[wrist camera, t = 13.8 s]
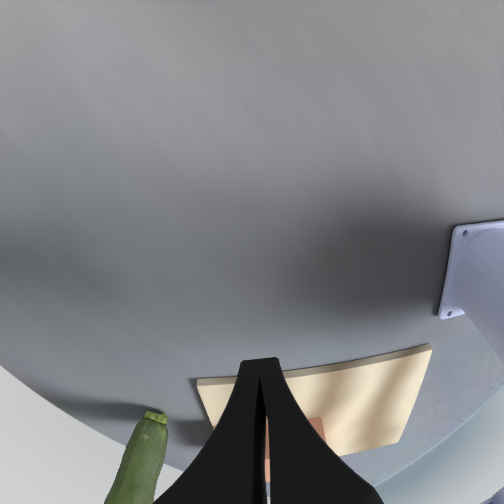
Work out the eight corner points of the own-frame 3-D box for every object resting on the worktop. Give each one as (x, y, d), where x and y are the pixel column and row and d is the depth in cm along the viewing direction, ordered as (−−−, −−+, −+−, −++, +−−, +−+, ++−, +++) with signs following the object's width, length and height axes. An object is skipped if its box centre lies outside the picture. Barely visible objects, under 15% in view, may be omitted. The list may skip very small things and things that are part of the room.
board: (428, 343, 24) (444, 368, 21) (396, 436, 31) (403, 457, 28) (197, 378, 25) (193, 409, 22) (231, 462, 31) (230, 485, 28)
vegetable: (164, 430, 28) (138, 604, 10) (125, 414, 27) (83, 589, 9) (179, 411, 27) (152, 610, 8) (135, 393, 26) (87, 594, 8)
